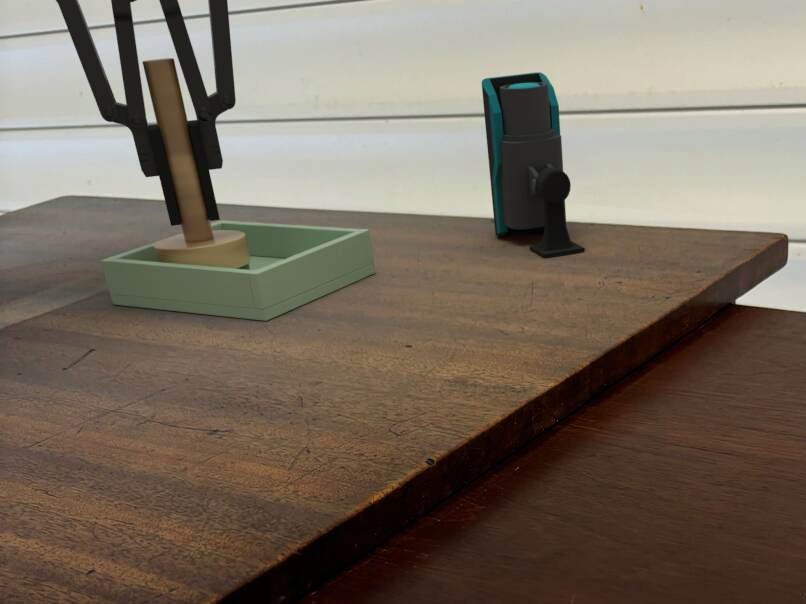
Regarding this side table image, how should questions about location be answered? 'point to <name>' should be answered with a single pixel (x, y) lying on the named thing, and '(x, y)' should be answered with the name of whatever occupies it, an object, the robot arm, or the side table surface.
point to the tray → (246, 272)
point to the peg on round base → (187, 182)
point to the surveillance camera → (527, 160)
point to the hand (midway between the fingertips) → (194, 218)
